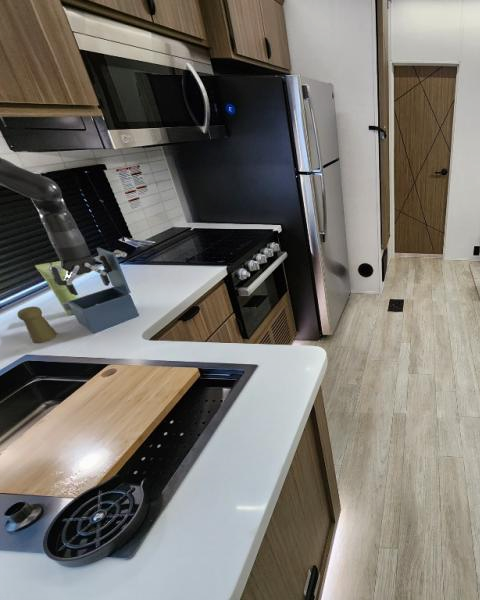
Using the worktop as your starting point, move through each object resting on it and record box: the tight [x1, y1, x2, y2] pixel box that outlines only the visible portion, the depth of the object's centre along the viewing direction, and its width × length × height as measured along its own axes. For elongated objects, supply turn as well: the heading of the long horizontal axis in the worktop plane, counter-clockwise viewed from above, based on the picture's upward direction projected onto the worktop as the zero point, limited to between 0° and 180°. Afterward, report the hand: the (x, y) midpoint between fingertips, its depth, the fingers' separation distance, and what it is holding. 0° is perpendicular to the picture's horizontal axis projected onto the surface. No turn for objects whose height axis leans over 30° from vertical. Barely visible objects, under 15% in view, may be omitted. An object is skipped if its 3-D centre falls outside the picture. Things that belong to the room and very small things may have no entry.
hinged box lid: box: [96, 247, 131, 294], centre depth 117 cm, size 14×13×5 cm
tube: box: [34, 260, 79, 315], centre depth 119 cm, size 6×5×20 cm
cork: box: [17, 306, 58, 344], centre depth 106 cm, size 6×6×11 cm
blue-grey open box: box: [67, 286, 140, 335], centre depth 116 cm, size 14×13×9 cm
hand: (91, 289), depth 111 cm, fingers open, 8 cm apart
